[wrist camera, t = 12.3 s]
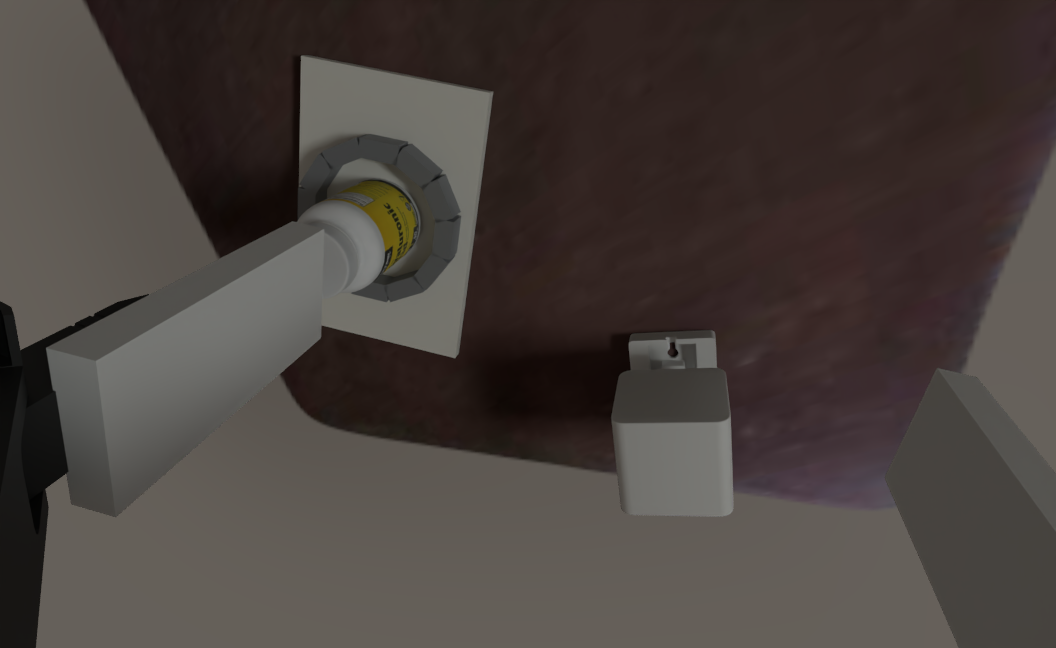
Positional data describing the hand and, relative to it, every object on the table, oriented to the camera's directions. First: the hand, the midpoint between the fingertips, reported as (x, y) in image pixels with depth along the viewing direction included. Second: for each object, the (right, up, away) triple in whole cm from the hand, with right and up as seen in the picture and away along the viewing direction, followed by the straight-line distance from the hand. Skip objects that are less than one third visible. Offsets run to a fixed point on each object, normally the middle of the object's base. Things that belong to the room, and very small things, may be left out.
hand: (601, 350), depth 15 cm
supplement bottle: (-11, +8, +30) cm, 33 cm away
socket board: (-11, +8, +31) cm, 34 cm away
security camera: (+8, -3, +32) cm, 33 cm away
